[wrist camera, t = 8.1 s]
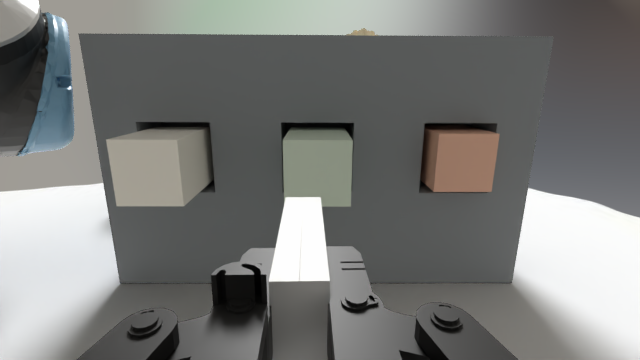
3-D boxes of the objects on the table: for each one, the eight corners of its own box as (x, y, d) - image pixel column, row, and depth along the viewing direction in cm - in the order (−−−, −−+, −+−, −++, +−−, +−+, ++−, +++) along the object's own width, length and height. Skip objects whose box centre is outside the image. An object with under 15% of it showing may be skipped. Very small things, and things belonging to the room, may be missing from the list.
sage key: (284, 206, 23) (282, 140, 22) (291, 178, 29) (290, 127, 28) (350, 206, 23) (352, 140, 22) (342, 179, 30) (344, 127, 28)
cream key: (116, 206, 23) (106, 139, 21) (162, 178, 29) (156, 126, 28) (184, 206, 23) (176, 139, 22) (214, 178, 29) (210, 127, 28)
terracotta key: (433, 191, 26) (439, 133, 25) (409, 170, 33) (413, 123, 32) (491, 191, 26) (499, 133, 25) (455, 170, 33) (460, 123, 32)
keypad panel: (120, 283, 30) (78, 33, 24) (160, 242, 37) (135, 46, 32) (511, 282, 30) (553, 36, 25) (471, 242, 38) (497, 48, 33)
